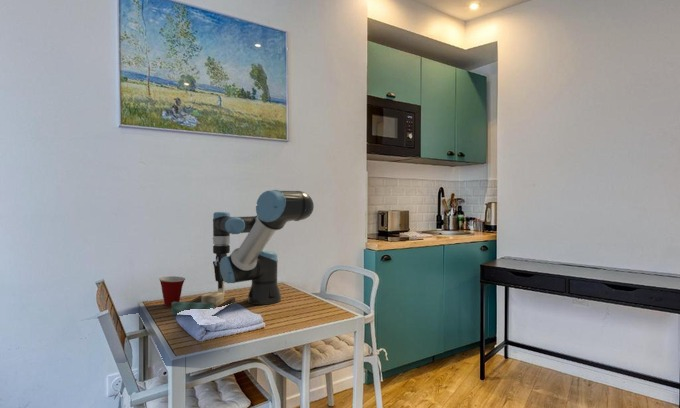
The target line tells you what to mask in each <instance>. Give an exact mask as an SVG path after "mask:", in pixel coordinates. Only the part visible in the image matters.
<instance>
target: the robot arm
mask: <svg viewBox="0 0 680 408" xmlns="http://www.w3.org/2000/svg"><path fill="white" fill-rule="evenodd" d="M256 204H257V205H256V206H255V213H256V215H253V216H231V213H230V212H229V211H216V212H215V211H214V212H213V219H212V234H213V235H212V236H213V237H212V244H213V245H212V253H213V254H215V261H212V264H213V269H214V278H215V282H217V293H224V296H225V294H226V289H225V288H226V284H235V283H241V282H247V281H248V282H249V281H251V286H250V289H249V292H248V295H247V302H248V303H250V304H253V305H273V304H277V303H279V302H280V301H282V293H281V292H280V288H279V285H278V254H277V253H276V252H275V251H271V250H270V251H269V250H264V249H265V247H266V246H267V245H268V243H269V241H270V240H271V239H272V237H273V236H274V234H275V233H276V231H278V230H280V231H281V230H282V229H283V228H284V227H285V225H286V223H288V222H291V221H295V222H299V221H303V220H305V219H307V218H309V217H310V216H311V215H312V213H313V211H314V208H315V207H314V205H315V204H314V201H313V199H312V197H311V196H310V195H309V194H308V193H307V192H305V191H301V190H280V189H279V190H278V189H272V190H266V191H264V192H262V193H261V194H260V195H259V197H258V199H257V200H256ZM239 234H247V235H246V237H245V238H244V240H243V241H242V242H241V244H240V246H239V247H237V248H235V249H234V250H232V252H231V251H230V250H231V246H230V244H231V235H239ZM228 254H230V255H228ZM225 283H226V284H225Z"/></svg>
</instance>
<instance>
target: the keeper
mask: <svg viewBox="0 0 680 408" xmlns="http://www.w3.org/2000/svg"><path fill="white" fill-rule="evenodd" d="M200 296H201V302H200V303H214V307H217V306H219V305H220V304H222V303H224V302H225V295H224V293H218V291H217V292H213V291H209V292H207V293H205V294H202V295H200Z"/></svg>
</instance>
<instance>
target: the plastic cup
mask: <svg viewBox="0 0 680 408" xmlns="http://www.w3.org/2000/svg"><path fill="white" fill-rule="evenodd" d="M158 279H159V281H160V286H161V292H162V297H163V303H164V306H166V307H172V302H181V301H180V300H181V295H182V290H183V286H184V283H185V280H186V277H183V276H175V275H174V276H173V275H172V276H171V275H169V276H167V275H166V276H161V277H159V278H158Z"/></svg>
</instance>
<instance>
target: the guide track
mask: <svg viewBox="0 0 680 408" xmlns="http://www.w3.org/2000/svg"><path fill="white" fill-rule="evenodd" d="M201 296H202V295H199V296H197V297H195V298H194V299H192V300H189V301H179V302H172V306H171V316H177V313H179V312H181V311H184V310H190V309H210V308H216V307H222V306H225V305H228V304H231V303H233V304H234V303H236V297H234V296H232V297H230V298H229V299H227V300H224V303H222V304H220V305H218V306H214V303H201ZM231 305H232V304H231Z"/></svg>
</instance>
